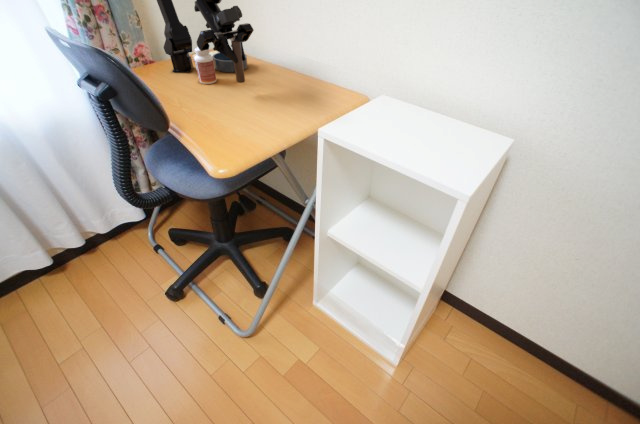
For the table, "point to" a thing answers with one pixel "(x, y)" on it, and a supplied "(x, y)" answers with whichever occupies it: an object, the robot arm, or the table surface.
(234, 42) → the stick
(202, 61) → the pill bottle
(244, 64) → the bowl
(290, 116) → the table surface
